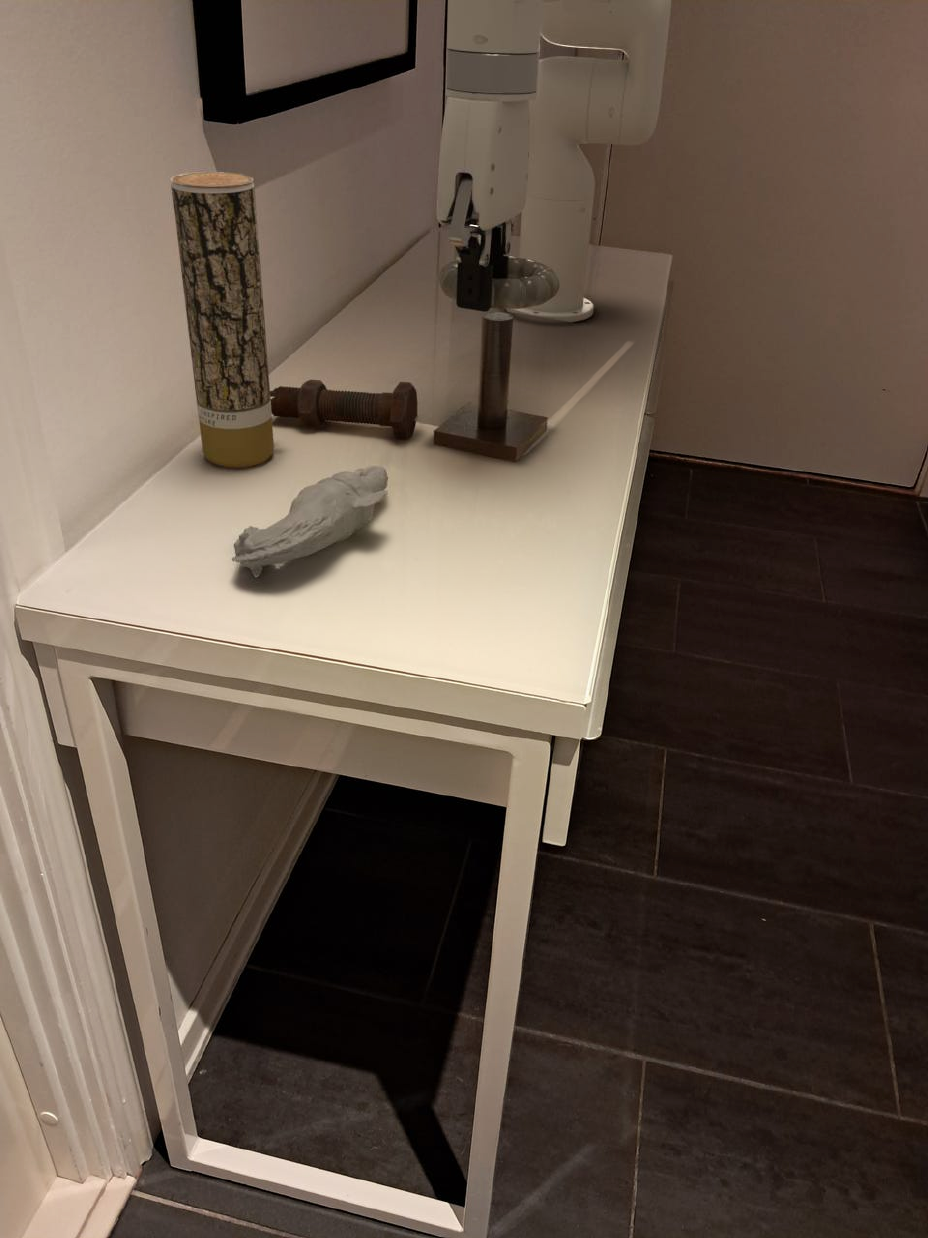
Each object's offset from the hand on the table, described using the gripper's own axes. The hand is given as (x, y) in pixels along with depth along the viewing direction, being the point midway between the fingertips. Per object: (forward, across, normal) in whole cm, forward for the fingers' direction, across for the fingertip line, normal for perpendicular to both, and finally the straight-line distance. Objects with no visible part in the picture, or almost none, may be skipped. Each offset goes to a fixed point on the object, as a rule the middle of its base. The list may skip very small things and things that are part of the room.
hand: (481, 301), depth 91 cm
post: (+15, -4, 0) cm, 16 cm away
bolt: (+15, 0, -15) cm, 21 cm away
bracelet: (-1, -4, 0) cm, 4 cm away
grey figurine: (+15, +22, -5) cm, 27 cm away
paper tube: (+15, +12, -20) cm, 28 cm away
